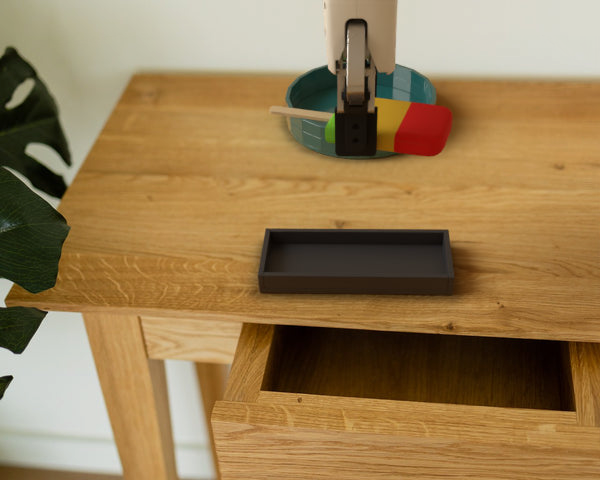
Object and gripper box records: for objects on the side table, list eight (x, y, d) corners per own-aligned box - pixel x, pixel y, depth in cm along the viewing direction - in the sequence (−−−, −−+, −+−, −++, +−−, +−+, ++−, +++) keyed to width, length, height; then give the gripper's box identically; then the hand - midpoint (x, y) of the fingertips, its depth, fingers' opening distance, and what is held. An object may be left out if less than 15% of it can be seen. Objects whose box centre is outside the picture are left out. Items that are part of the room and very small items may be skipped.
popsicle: (440, 161, 58) (442, 139, 57) (258, 134, 62) (256, 114, 61) (454, 126, 62) (456, 105, 61) (282, 103, 66) (280, 83, 65)
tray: (446, 246, 73) (448, 229, 72) (452, 295, 68) (454, 277, 67) (267, 245, 75) (265, 228, 73) (259, 292, 69) (257, 275, 68)
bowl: (432, 86, 97) (434, 60, 95) (436, 160, 84) (438, 132, 82) (295, 85, 99) (294, 59, 97) (279, 157, 86) (277, 130, 84)
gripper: (422, -71, 43) (406, 191, 55) (411, -146, 56) (400, 81, 68) (290, -68, 44) (303, 191, 56) (309, -142, 57) (316, 82, 69)
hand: (356, 129), depth 62 cm, fingers closed on popsicle, 6 cm apart
